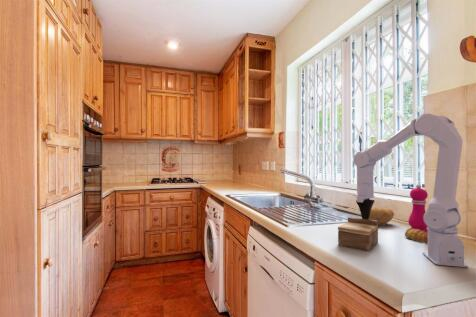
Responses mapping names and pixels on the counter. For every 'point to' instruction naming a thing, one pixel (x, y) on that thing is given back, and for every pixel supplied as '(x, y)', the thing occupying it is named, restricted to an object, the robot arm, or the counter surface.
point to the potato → (381, 215)
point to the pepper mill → (418, 208)
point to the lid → (359, 226)
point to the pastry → (417, 235)
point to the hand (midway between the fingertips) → (365, 218)
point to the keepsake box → (358, 240)
